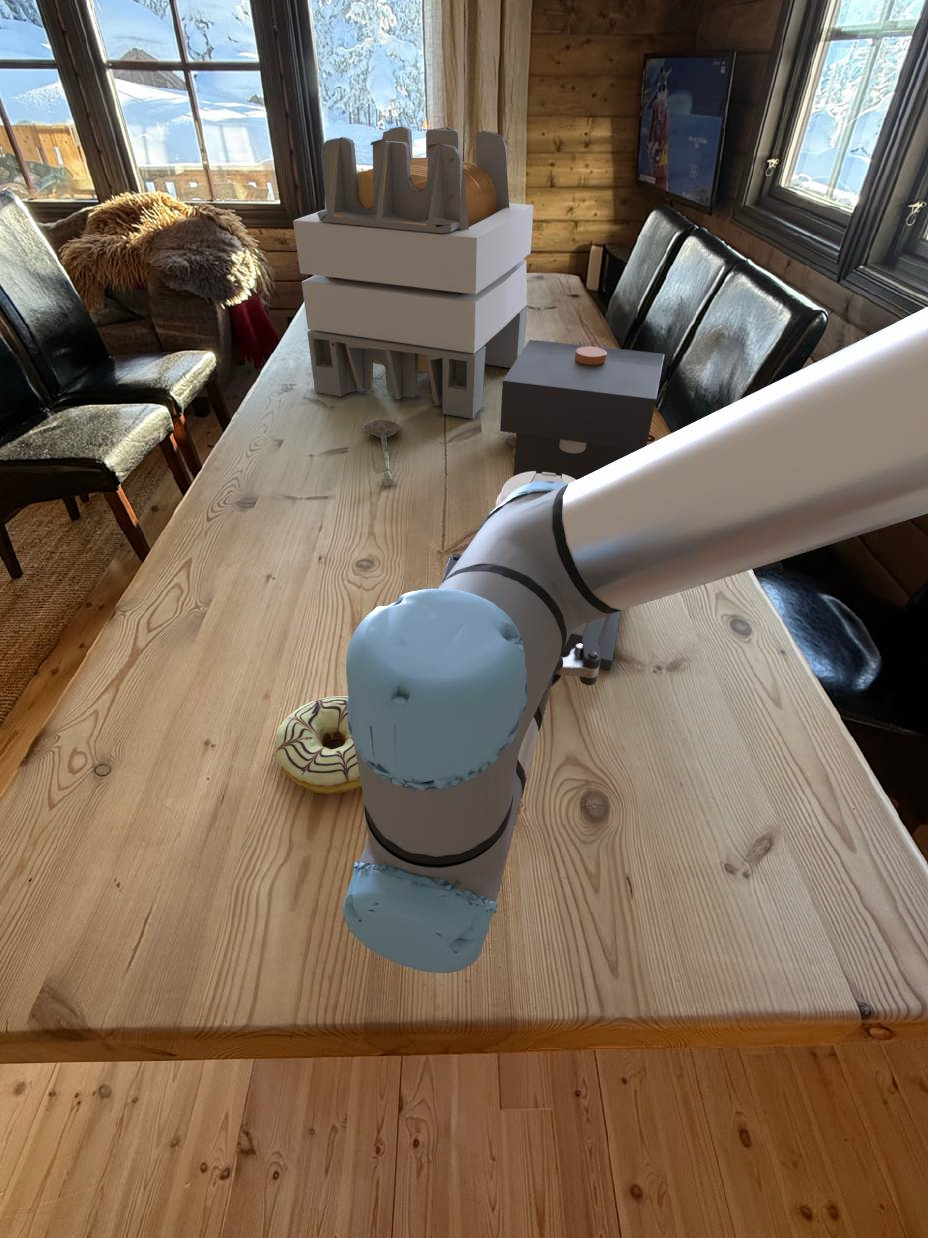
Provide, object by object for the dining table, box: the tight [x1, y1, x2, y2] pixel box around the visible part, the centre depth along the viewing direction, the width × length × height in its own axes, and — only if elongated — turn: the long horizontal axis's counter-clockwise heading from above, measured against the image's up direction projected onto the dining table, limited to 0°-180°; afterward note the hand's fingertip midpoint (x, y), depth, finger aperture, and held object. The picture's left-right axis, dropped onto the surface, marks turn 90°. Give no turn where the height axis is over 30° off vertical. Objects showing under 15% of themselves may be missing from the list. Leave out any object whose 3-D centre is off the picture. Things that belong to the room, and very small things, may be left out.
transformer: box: [292, 125, 534, 420], centre depth 122 cm, size 34×33×41 cm
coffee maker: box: [499, 339, 665, 671], centre depth 71 cm, size 18×16×29 cm
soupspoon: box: [362, 419, 402, 487], centre depth 109 cm, size 22×3×7 cm
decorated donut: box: [273, 695, 362, 795], centre depth 62 cm, size 10×11×4 cm
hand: (547, 532), depth 60 cm, fingers closed on paper cup, 7 cm apart
